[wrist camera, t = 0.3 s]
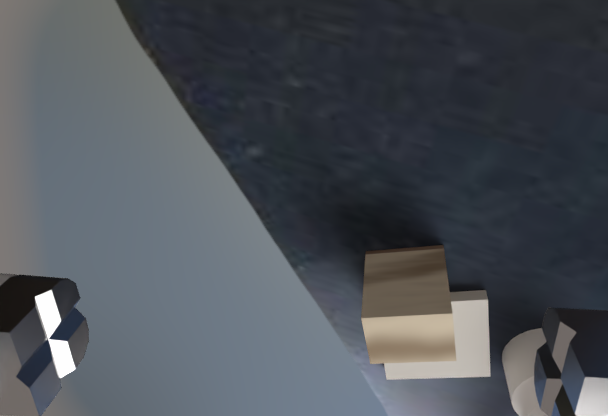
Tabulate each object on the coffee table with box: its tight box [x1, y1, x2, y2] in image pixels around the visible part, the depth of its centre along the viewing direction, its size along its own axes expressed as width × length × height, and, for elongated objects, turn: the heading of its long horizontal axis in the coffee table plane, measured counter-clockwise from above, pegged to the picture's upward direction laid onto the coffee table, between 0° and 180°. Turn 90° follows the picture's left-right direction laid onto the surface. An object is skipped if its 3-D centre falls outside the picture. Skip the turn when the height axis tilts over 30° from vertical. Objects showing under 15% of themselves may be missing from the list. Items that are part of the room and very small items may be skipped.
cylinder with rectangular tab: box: [502, 328, 548, 416], centre depth 56 cm, size 9×9×12 cm
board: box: [384, 290, 491, 379], centre depth 61 cm, size 12×12×2 cm
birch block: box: [361, 245, 456, 364], centre depth 53 cm, size 6×8×10 cm
